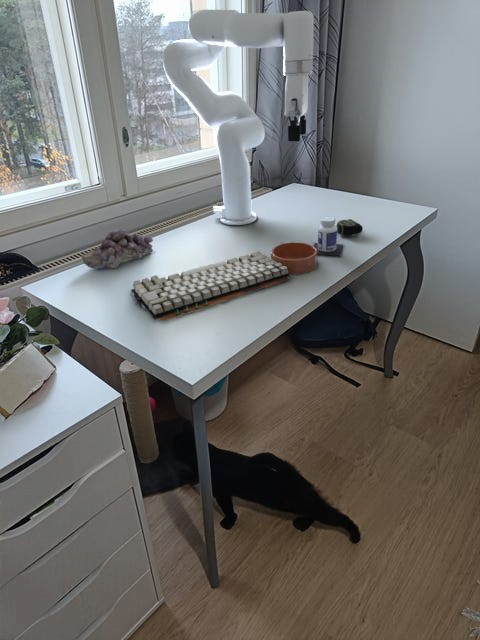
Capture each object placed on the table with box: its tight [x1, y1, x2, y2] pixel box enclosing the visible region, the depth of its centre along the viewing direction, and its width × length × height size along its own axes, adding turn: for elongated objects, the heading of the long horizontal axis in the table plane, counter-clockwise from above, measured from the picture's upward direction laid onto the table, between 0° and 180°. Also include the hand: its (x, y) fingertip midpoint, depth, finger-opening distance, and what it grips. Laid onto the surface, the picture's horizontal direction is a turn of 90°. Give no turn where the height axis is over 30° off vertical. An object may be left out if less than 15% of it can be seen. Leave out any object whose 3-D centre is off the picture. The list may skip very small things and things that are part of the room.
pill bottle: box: [317, 216, 338, 252], centre depth 126 cm, size 5×5×9 cm
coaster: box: [313, 242, 343, 257], centre depth 129 cm, size 8×8×1 cm
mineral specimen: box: [81, 228, 154, 270], centre depth 128 cm, size 20×10×10 cm
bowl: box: [270, 241, 318, 275], centre depth 121 cm, size 12×12×4 cm
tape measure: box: [335, 218, 364, 237], centre depth 137 cm, size 7×7×4 cm
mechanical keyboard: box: [130, 250, 292, 322], centre depth 113 cm, size 38×19×3 cm, turn 120°
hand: (297, 137), depth 127 cm, fingers open, 9 cm apart
